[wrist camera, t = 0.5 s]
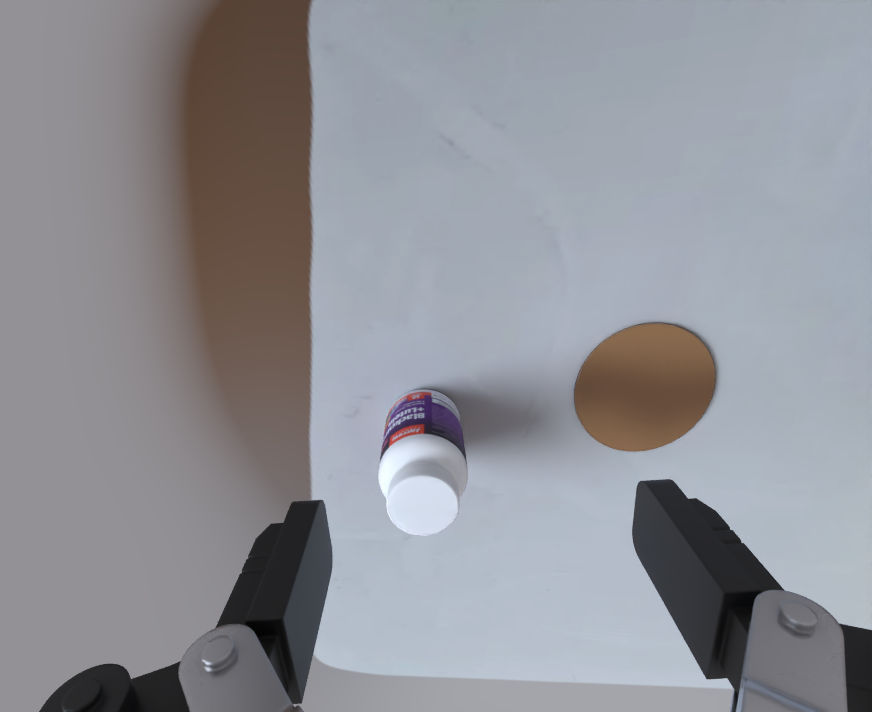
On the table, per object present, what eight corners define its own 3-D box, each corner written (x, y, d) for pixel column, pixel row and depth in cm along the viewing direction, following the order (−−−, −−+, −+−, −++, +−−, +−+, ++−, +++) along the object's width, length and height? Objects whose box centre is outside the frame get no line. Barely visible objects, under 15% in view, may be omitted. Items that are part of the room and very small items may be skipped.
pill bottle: (417, 372, 34) (415, 446, 25) (475, 415, 36) (493, 500, 27) (370, 426, 36) (353, 514, 27) (428, 465, 37) (430, 562, 28)
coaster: (570, 334, 34) (571, 335, 33) (717, 312, 33) (719, 313, 33) (576, 458, 37) (577, 460, 37) (709, 439, 37) (711, 441, 37)
